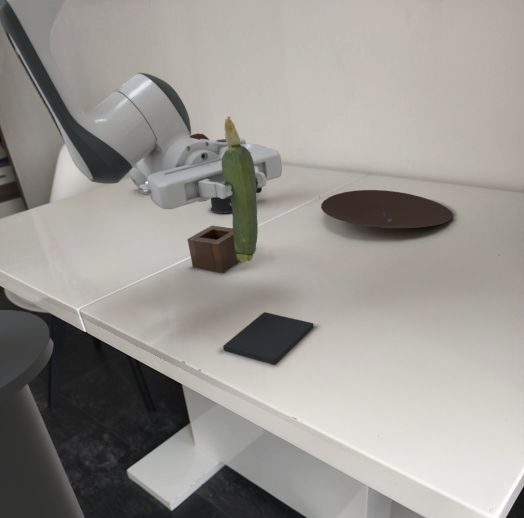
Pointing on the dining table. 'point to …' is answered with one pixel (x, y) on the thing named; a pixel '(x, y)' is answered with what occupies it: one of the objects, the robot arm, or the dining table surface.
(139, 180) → the teacup
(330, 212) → the plate
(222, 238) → the holder
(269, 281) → the dining table surface
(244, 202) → the vegetable
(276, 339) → the mat
